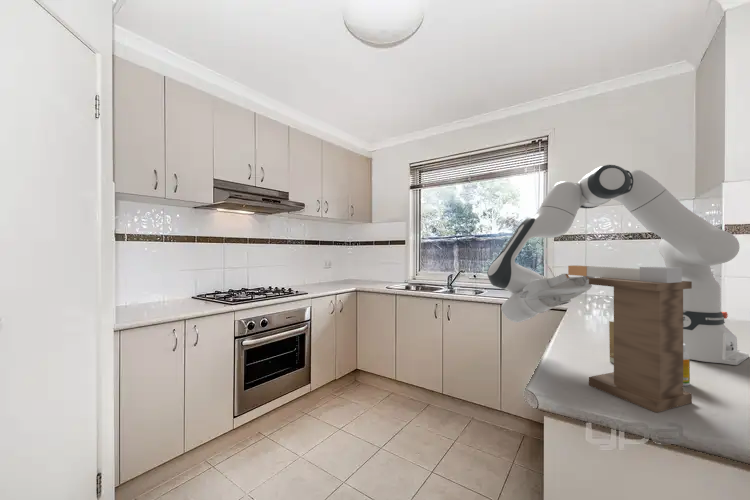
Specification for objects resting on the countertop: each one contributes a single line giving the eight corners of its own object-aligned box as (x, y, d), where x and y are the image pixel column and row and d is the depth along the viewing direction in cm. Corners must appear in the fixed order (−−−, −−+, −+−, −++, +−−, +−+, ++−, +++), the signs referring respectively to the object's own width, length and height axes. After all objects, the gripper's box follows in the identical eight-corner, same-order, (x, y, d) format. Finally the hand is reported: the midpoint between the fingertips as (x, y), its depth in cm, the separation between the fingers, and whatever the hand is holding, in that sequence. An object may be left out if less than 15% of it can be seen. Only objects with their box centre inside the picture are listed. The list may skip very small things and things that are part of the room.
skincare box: (623, 359, 96) (623, 318, 96) (639, 364, 92) (639, 321, 92) (608, 362, 94) (608, 320, 94) (623, 367, 90) (623, 323, 90)
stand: (621, 378, 82) (621, 276, 82) (691, 402, 69) (691, 281, 69) (588, 385, 78) (588, 277, 78) (656, 412, 65) (656, 283, 65)
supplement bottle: (695, 387, 77) (695, 346, 77) (669, 385, 78) (669, 345, 78) (679, 378, 82) (679, 340, 82) (655, 376, 83) (655, 339, 83)
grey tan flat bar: (578, 274, 89) (578, 263, 89) (681, 282, 68) (681, 267, 68) (565, 274, 87) (565, 263, 87) (667, 283, 66) (667, 268, 66)
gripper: (511, 287, 95) (545, 265, 84) (562, 284, 103) (599, 264, 91) (519, 307, 92) (556, 288, 81) (571, 303, 100) (611, 284, 88)
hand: (579, 275), depth 86 cm, fingers open, 8 cm apart
